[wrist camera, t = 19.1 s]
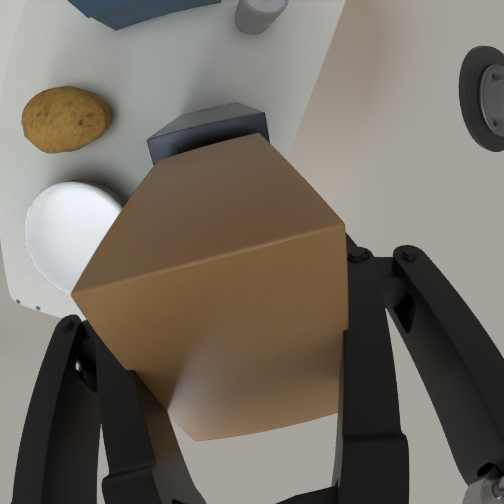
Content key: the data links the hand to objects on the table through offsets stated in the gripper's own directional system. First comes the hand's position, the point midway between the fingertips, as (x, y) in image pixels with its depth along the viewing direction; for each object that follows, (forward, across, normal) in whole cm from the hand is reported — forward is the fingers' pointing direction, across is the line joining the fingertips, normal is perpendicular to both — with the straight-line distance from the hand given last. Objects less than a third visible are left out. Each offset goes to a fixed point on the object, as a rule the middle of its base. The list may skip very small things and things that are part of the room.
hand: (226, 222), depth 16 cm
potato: (+27, -19, +10) cm, 35 cm away
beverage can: (+27, +8, +17) cm, 33 cm away
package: (+2, 0, 0) cm, 2 cm away
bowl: (+27, -22, -7) cm, 36 cm away
